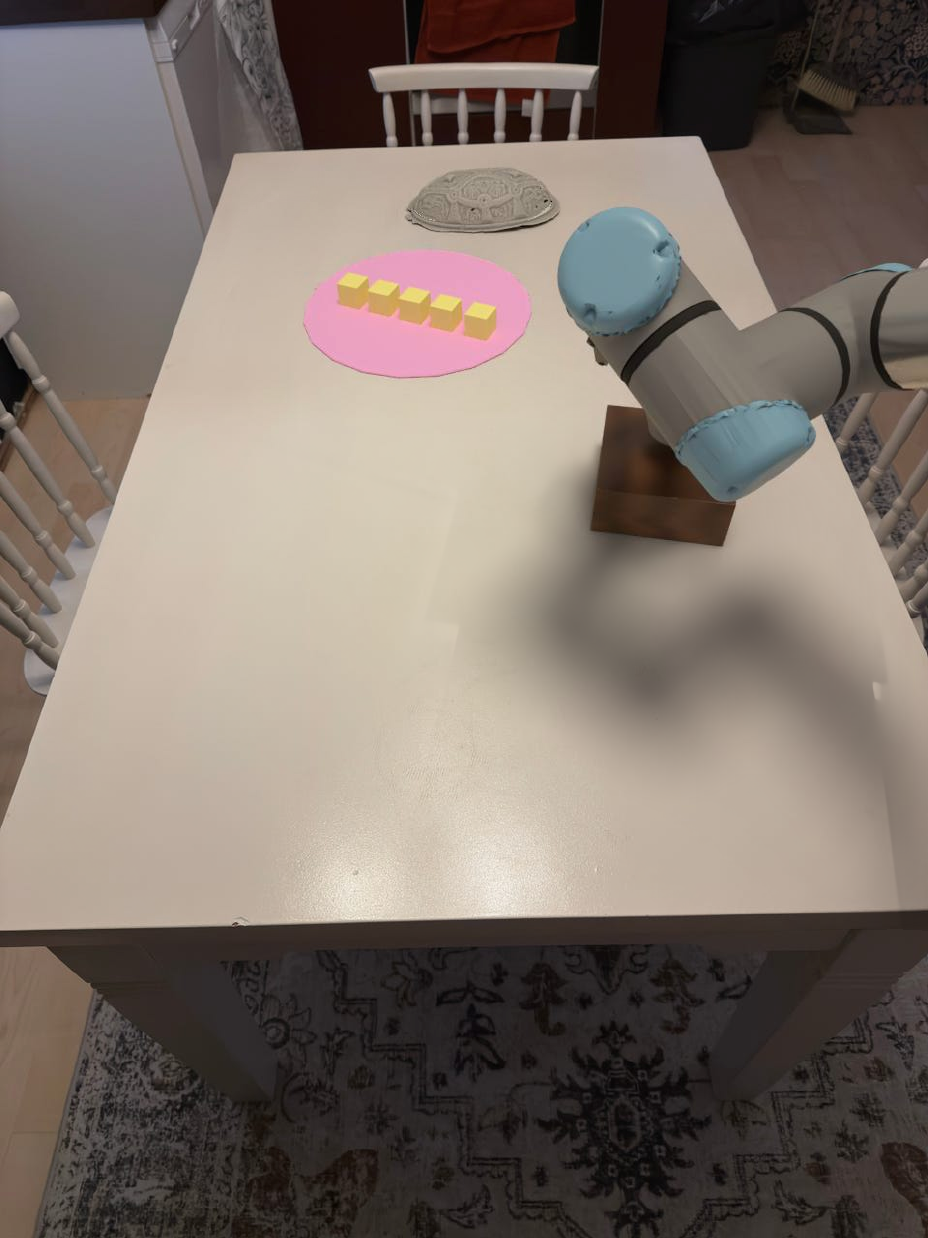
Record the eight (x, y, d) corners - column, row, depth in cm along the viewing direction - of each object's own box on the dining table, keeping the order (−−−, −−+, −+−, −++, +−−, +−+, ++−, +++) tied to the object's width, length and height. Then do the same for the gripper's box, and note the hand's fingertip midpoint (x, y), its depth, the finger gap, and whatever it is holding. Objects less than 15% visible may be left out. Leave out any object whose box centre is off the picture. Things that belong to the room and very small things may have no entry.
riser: (723, 459, 96) (735, 417, 92) (722, 546, 88) (736, 505, 83) (601, 446, 98) (607, 404, 94) (590, 530, 90) (595, 489, 85)
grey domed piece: (566, 225, 129) (566, 178, 124) (406, 240, 130) (400, 194, 125) (555, 189, 140) (555, 145, 135) (407, 203, 141) (402, 160, 136)
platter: (474, 402, 104) (473, 379, 101) (258, 344, 113) (253, 321, 110) (564, 276, 121) (566, 253, 119) (372, 234, 130) (370, 212, 128)
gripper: (513, 339, 69) (580, 394, 90) (768, 420, 62) (777, 460, 83) (546, 248, 68) (607, 326, 88) (811, 321, 60) (809, 387, 81)
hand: (689, 391), depth 86 cm, fingers closed on mug, 9 cm apart
